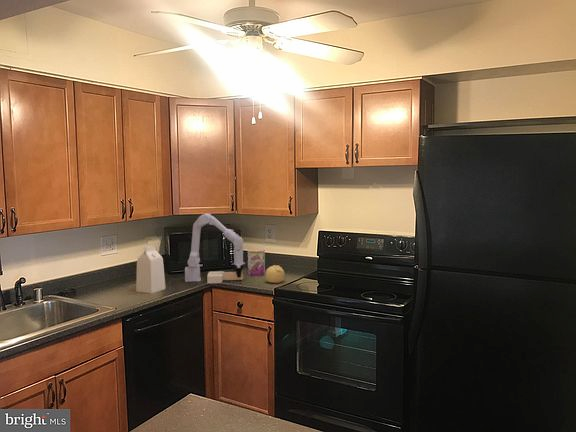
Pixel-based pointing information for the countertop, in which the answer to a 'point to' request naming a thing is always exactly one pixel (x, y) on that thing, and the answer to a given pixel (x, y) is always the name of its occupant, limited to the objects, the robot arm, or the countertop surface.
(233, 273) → the thin wooden plank
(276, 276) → the beige round lump
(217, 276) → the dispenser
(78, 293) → the countertop surface
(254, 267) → the candy bar box
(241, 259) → the robot arm
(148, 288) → the milk
